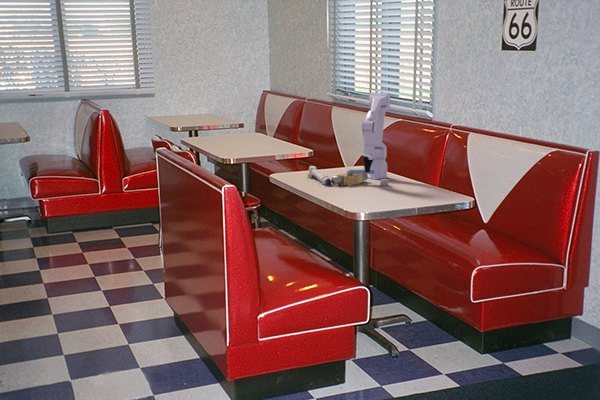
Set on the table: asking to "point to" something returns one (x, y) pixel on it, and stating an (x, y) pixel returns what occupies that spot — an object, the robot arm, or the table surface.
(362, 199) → the table surface
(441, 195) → the table surface
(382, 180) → the pvc end cap
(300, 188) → the table surface
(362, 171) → the lever
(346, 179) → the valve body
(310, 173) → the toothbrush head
